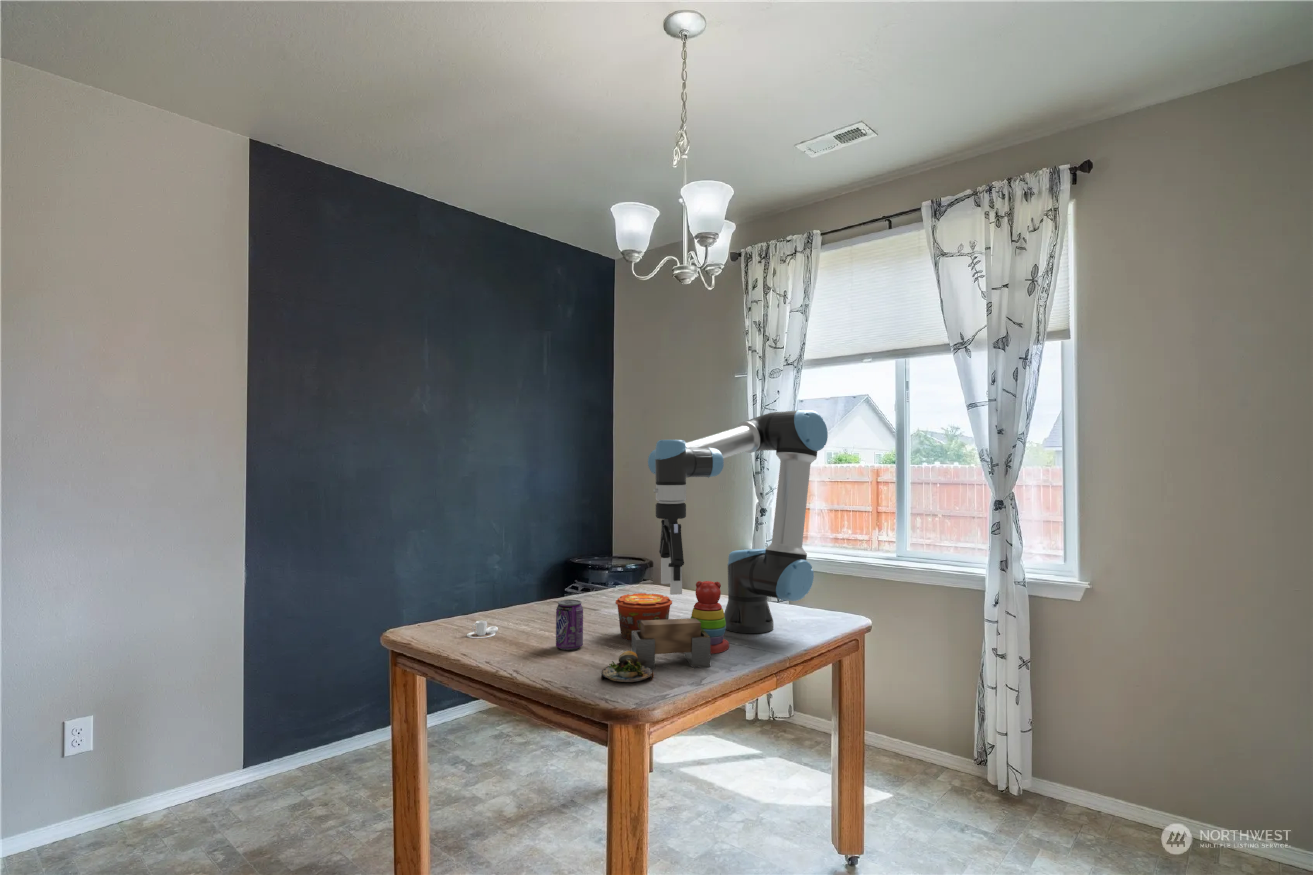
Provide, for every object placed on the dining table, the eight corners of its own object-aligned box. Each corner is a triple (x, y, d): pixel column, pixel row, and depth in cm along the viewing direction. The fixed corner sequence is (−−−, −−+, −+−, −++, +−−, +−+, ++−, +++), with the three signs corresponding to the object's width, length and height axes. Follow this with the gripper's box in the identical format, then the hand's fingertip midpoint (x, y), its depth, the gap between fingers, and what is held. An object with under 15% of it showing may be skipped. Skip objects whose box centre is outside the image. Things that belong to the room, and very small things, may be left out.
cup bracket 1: (636, 669, 163) (636, 639, 163) (631, 658, 172) (631, 630, 172) (654, 669, 164) (654, 639, 164) (649, 658, 173) (649, 630, 173)
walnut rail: (695, 646, 173) (695, 618, 173) (700, 651, 168) (700, 622, 168) (640, 649, 170) (640, 620, 170) (644, 654, 165) (644, 625, 165)
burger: (591, 683, 154) (591, 649, 154) (615, 668, 165) (616, 637, 165) (640, 690, 149) (640, 655, 150) (662, 675, 160) (662, 642, 160)
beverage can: (552, 645, 184) (553, 600, 184) (578, 643, 187) (578, 598, 187) (559, 652, 177) (560, 605, 178) (586, 649, 180) (586, 603, 180)
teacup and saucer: (497, 631, 200) (497, 617, 200) (499, 638, 193) (499, 623, 193) (465, 633, 198) (466, 619, 198) (467, 640, 190) (467, 625, 190)
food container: (623, 646, 184) (624, 605, 184) (609, 631, 199) (609, 594, 199) (680, 641, 189) (680, 601, 189) (661, 627, 204) (661, 591, 204)
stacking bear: (729, 644, 186) (729, 578, 186) (727, 655, 176) (727, 585, 176) (689, 642, 187) (690, 576, 188) (685, 653, 177) (685, 583, 178)
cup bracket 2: (702, 656, 175) (702, 628, 175) (710, 666, 166) (710, 637, 166) (684, 656, 174) (684, 628, 174) (692, 667, 165) (692, 638, 165)
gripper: (648, 499, 182) (648, 580, 181) (664, 505, 157) (664, 599, 157) (676, 498, 183) (676, 579, 182) (696, 505, 158) (696, 598, 158)
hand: (671, 588), depth 169 cm, fingers open, 13 cm apart
